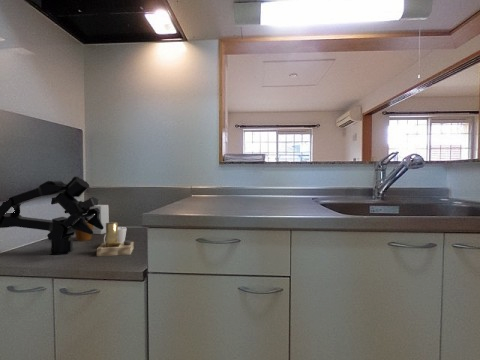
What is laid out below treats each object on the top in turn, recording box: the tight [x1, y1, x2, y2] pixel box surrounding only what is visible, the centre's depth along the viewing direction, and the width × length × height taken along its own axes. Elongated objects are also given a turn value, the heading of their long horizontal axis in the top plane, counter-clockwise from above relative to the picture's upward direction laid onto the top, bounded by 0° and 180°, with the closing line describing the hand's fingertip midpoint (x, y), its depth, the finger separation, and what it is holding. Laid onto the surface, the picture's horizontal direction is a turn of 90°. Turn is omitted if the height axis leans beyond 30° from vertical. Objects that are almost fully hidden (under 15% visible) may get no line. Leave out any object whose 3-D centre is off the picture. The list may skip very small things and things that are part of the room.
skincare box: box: [90, 204, 110, 235], centre depth 145 cm, size 8×7×16 cm
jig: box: [96, 240, 135, 257], centre depth 110 cm, size 12×9×4 cm
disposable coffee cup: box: [75, 220, 93, 242], centre depth 130 cm, size 10×10×12 cm
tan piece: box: [105, 221, 119, 247], centre depth 110 cm, size 4×4×12 cm
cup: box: [103, 226, 128, 243], centre depth 119 cm, size 7×10×8 cm
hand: (97, 231), depth 109 cm, fingers open, 9 cm apart
